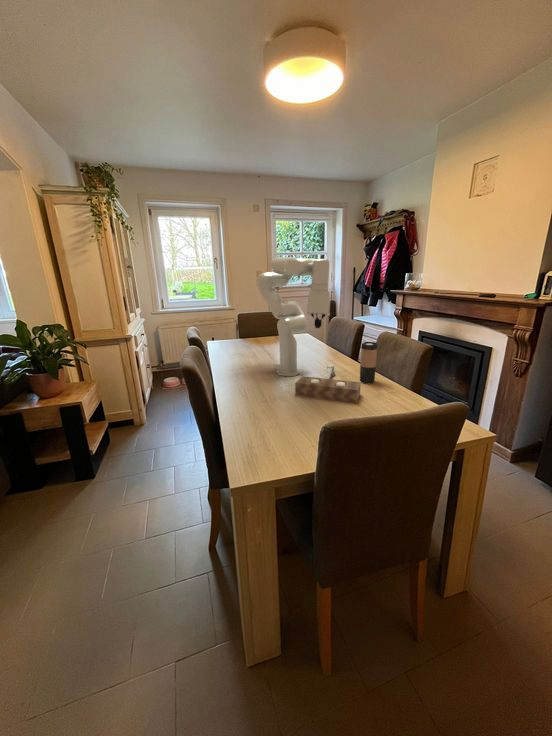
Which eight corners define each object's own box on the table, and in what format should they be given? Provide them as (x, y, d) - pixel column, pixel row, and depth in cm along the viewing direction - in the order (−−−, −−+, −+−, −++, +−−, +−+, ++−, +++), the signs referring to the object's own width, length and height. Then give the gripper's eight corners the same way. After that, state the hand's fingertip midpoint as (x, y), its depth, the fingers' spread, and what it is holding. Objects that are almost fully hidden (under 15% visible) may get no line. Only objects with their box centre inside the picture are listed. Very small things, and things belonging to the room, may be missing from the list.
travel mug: (376, 383, 153) (379, 345, 147) (361, 384, 153) (363, 345, 147) (372, 378, 160) (375, 341, 154) (357, 378, 161) (359, 341, 155)
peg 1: (309, 392, 142) (309, 381, 141) (311, 389, 146) (312, 378, 144) (317, 393, 141) (318, 382, 139) (320, 390, 144) (320, 379, 143)
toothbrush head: (317, 381, 148) (326, 361, 169) (317, 393, 150) (326, 371, 171) (327, 382, 146) (336, 361, 167) (327, 394, 149) (336, 372, 170)
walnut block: (295, 394, 142) (295, 382, 140) (301, 387, 151) (301, 376, 149) (356, 403, 132) (357, 390, 130) (359, 394, 141) (360, 382, 139)
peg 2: (335, 395, 138) (335, 384, 136) (336, 392, 141) (337, 381, 140) (344, 396, 136) (344, 385, 135) (345, 393, 140) (346, 382, 138)
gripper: (301, 288, 138) (300, 328, 144) (334, 289, 132) (331, 330, 138) (306, 286, 144) (305, 325, 150) (337, 287, 139) (335, 327, 145)
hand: (317, 327), depth 144 cm, fingers closed
